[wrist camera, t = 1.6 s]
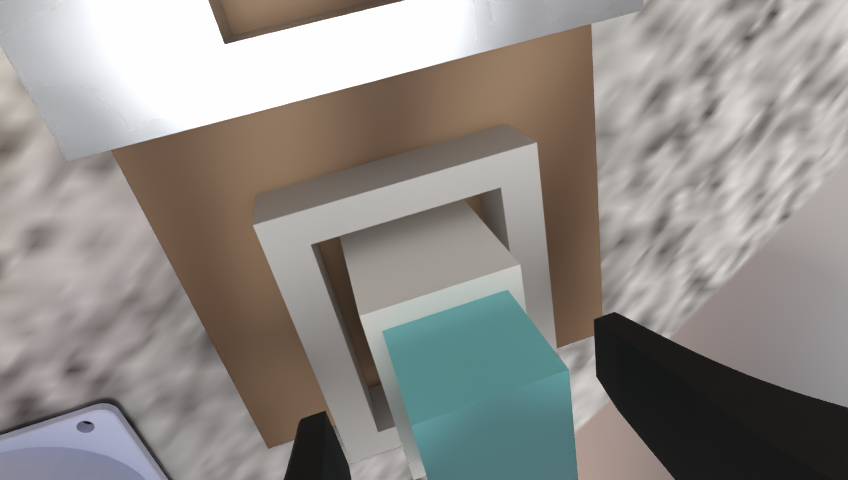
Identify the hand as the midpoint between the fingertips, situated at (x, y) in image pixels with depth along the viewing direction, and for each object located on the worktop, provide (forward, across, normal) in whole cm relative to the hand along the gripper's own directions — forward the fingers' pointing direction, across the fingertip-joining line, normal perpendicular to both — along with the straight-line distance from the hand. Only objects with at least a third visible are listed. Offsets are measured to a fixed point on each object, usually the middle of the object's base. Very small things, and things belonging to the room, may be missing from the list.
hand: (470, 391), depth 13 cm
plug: (+5, 0, 0) cm, 5 cm away
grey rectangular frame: (+6, 0, 0) cm, 6 cm away
